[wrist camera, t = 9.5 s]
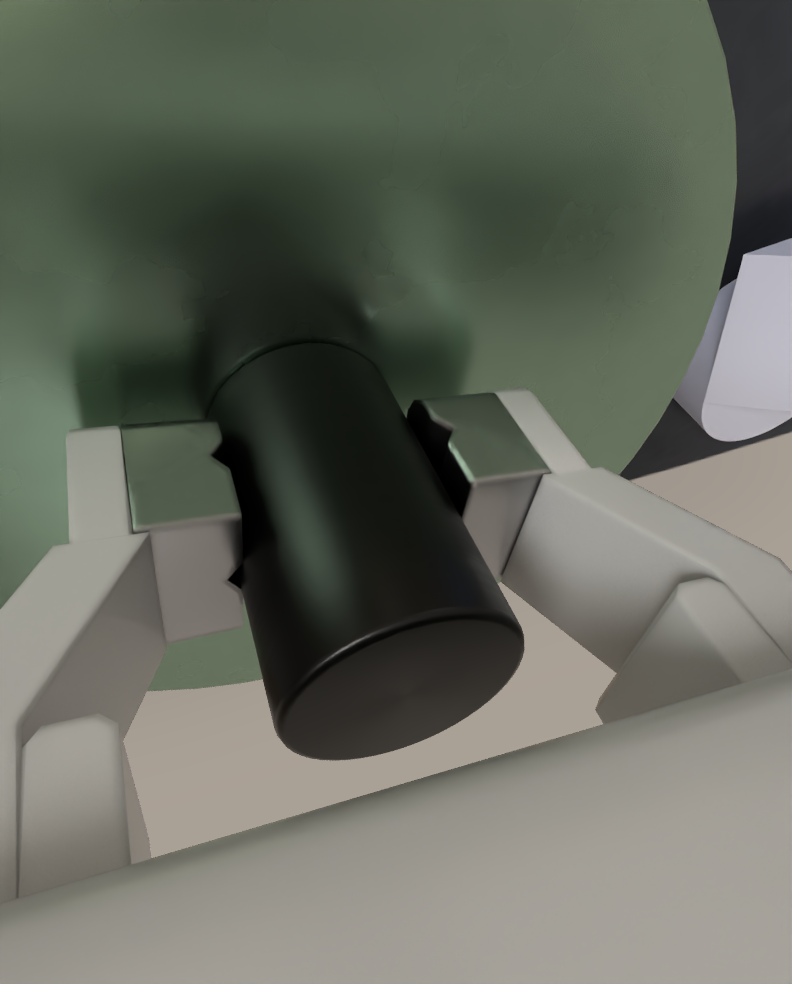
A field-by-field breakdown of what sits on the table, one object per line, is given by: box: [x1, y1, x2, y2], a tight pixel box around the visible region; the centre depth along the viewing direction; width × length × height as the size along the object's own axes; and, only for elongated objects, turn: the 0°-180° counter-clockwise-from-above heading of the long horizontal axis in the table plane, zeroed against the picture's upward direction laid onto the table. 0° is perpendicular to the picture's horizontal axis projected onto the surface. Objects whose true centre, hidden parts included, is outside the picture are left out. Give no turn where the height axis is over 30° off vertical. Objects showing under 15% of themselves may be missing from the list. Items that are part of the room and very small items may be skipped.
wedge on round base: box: [673, 238, 792, 441], centre depth 34 cm, size 9×7×13 cm
